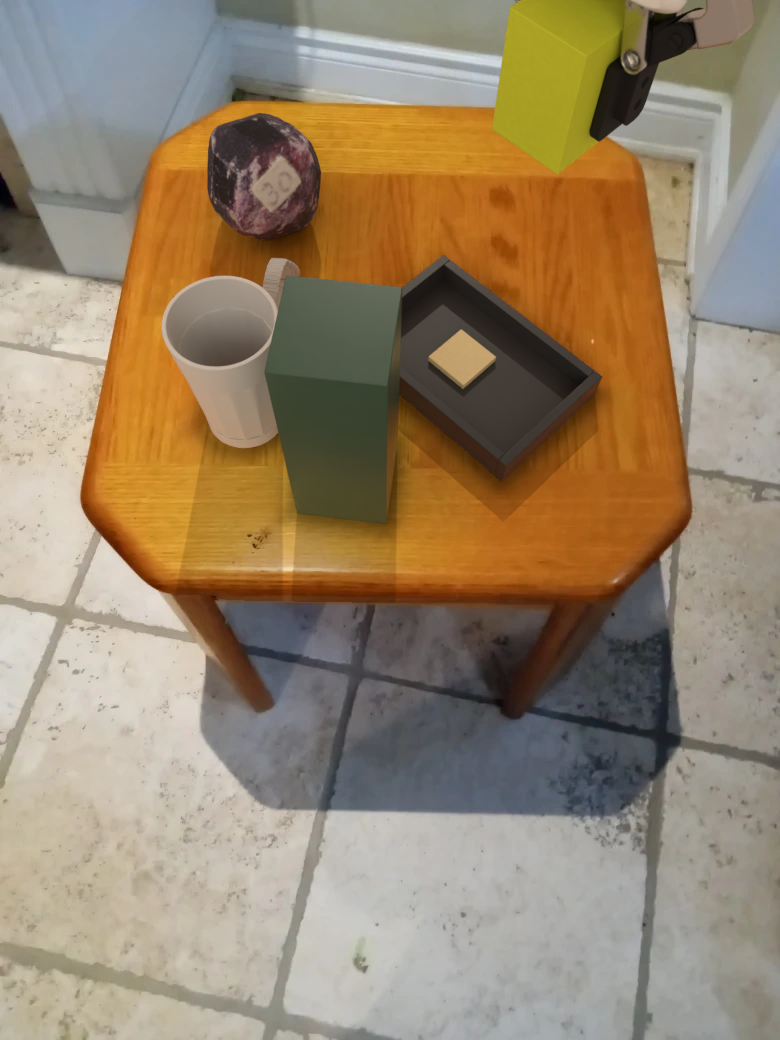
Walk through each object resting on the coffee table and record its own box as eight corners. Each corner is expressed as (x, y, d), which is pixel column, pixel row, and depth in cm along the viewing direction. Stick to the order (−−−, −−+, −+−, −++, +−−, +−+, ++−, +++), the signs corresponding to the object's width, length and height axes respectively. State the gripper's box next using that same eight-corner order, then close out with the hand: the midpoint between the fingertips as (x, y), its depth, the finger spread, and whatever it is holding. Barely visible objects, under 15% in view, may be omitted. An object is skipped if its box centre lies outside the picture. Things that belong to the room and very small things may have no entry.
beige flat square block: (495, 361, 68) (496, 356, 68) (462, 389, 67) (463, 385, 67) (460, 333, 70) (461, 328, 69) (427, 360, 68) (428, 356, 68)
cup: (266, 471, 65) (243, 387, 54) (179, 434, 66) (138, 344, 55) (312, 394, 68) (299, 298, 57) (228, 360, 69) (199, 260, 58)
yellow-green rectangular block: (642, 107, 43) (684, -16, 37) (557, 175, 41) (586, 56, 35) (577, 65, 45) (607, -60, 39) (491, 129, 43) (509, 7, 37)
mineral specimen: (200, 254, 71) (183, 133, 64) (230, 208, 79) (217, 95, 72) (311, 262, 71) (305, 140, 64) (330, 214, 78) (327, 101, 72)
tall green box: (397, 445, 66) (402, 286, 48) (386, 524, 63) (387, 386, 46) (311, 435, 66) (285, 274, 49) (296, 513, 63) (263, 372, 46)
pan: (595, 394, 68) (602, 376, 65) (501, 482, 64) (506, 466, 62) (441, 274, 73) (443, 254, 70) (347, 350, 69) (346, 331, 67)
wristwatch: (303, 290, 72) (298, 249, 67) (289, 335, 70) (282, 297, 65) (271, 284, 72) (264, 243, 68) (256, 329, 70) (247, 291, 66)
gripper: (1008, -363, 24) (750, 148, 41) (568, -529, 29) (498, -11, 45) (872, -273, 22) (658, 229, 38) (419, -469, 27) (403, 53, 43)
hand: (572, 95), depth 42 cm, fingers closed on yellow-green rectangular block, 4 cm apart
